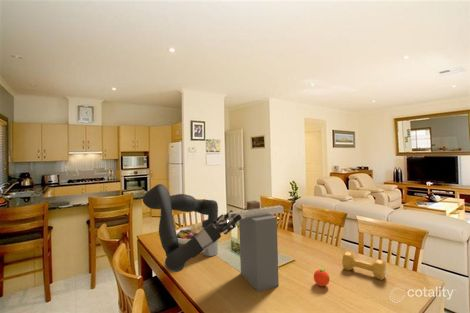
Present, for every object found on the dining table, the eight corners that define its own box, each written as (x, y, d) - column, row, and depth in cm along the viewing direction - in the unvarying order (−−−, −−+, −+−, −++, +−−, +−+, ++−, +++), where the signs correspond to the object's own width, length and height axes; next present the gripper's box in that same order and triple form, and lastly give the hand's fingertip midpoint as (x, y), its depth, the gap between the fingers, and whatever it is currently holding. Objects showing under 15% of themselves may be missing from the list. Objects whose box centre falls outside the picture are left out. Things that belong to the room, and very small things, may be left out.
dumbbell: (387, 275, 118) (387, 259, 118) (383, 283, 111) (382, 266, 111) (346, 264, 131) (346, 249, 131) (340, 270, 124) (340, 255, 124)
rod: (228, 219, 111) (228, 212, 111) (280, 211, 122) (279, 205, 122) (231, 220, 108) (230, 214, 108) (283, 212, 119) (283, 206, 119)
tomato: (317, 278, 117) (317, 264, 117) (332, 283, 113) (332, 268, 113) (311, 286, 111) (311, 270, 111) (326, 291, 107) (326, 275, 106)
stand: (240, 273, 124) (238, 211, 123) (259, 268, 128) (257, 209, 128) (257, 292, 107) (255, 220, 107) (278, 285, 112) (276, 217, 111)
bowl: (169, 236, 184) (169, 225, 184) (206, 229, 197) (206, 220, 197) (177, 250, 157) (176, 238, 157) (220, 241, 170) (219, 230, 170)
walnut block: (246, 211, 124) (246, 201, 124) (255, 210, 126) (255, 200, 126) (251, 213, 119) (250, 203, 119) (260, 212, 121) (259, 202, 121)
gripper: (208, 234, 98) (238, 210, 103) (199, 225, 111) (226, 204, 116) (217, 248, 100) (247, 224, 105) (207, 237, 113) (234, 216, 118)
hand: (236, 213), depth 111 cm, fingers open, 8 cm apart
